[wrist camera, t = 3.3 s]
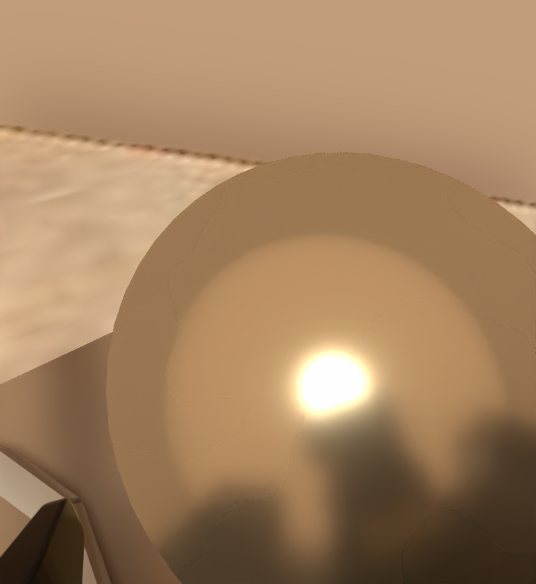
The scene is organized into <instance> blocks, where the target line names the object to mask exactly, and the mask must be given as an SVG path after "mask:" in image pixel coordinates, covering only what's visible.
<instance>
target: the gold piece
mask: <svg viewBox="0 0 536 584" xmlns="http://www.w3.org/2000/svg"><path fill="white" fill-rule="evenodd" d="M106 397H107V410H108V422H109V431H110V436H111V440H112V445H113V450H114V454H115V459H116V464H117V468H118V470H119V473H120V476H121V479H122V481H123V484H124V487H125V490H126V492H127V495H128V498H129V500H130V503H131V506H132V507H133V509H134V511H135V513H136V515H137V517H138V519H139V521H140V523H141V524H142V526H143V528H144V530H145V532H146V534H147V536H148V538H149V540H150V541H151V543H152V544H153V546H154V547H155V548H156V550H157V551H158V553H159V554H160V555H161V557H162V558H163V560H164V561H165V562H166V564H167V565H168V566H169V568H170V569H171V571H172V572H173V573H174V575H175V576H176V577H177V578H178V579H179V580H180V581H181V582H182V584H536V235H535V234H534V233H533V232H532V231H531V230H530V229H529V228H528V227H527V226H526V225H524V224H523V223H522V222H521V221H520V220H519V219H517V218H516V217H515V216H513V215H512V214H511V213H510V212H508V211H507V210H506V209H504V208H503V207H502V206H500V205H499V204H498V203H496V202H494V201H493V200H491V199H490V198H488V197H487V196H485V195H483V194H482V193H480V192H479V191H477V190H475V189H474V188H472V187H470V186H468V185H466V184H464V183H462V182H460V181H458V180H456V179H454V178H452V177H450V176H448V175H445V174H442V173H440V172H437V171H435V170H432V169H429V168H427V167H424V166H421V165H418V164H414V163H410V162H406V161H403V160H400V159H395V158H389V157H384V156H378V155H372V154H360V153H347V152H343V153H342V152H340V153H316V154H309V155H301V156H295V157H289V158H286V159H281V160H277V161H273V162H270V163H266V164H263V165H260V166H258V167H255V168H253V169H250V170H247V171H245V172H242V173H240V174H238V175H236V176H234V177H232V178H230V179H228V180H227V181H225V182H223V183H221V184H219V185H217V186H216V187H214V188H213V189H211V190H210V191H208V192H207V193H205V194H204V195H202V196H201V197H200V198H198V199H197V200H195V201H194V202H193V203H192V204H191V205H189V206H188V207H187V208H186V209H185V210H184V211H183V212H182V213H180V214H179V215H178V216H177V217H176V218H175V219H174V220H173V221H172V222H171V223H170V224H169V225H168V227H167V228H166V229H165V230H164V231H163V232H162V233H161V235H160V236H159V237H158V238H157V239H156V240H155V242H154V243H153V245H152V246H151V248H150V249H149V251H148V252H147V254H146V255H145V257H144V258H143V260H142V261H141V263H140V264H139V266H138V268H137V270H136V272H135V274H134V276H133V278H132V280H131V282H130V284H129V286H128V288H127V290H126V292H125V294H124V297H123V300H122V303H121V306H120V309H119V312H118V315H117V318H116V321H115V324H114V329H113V334H112V339H111V345H110V350H109V355H108V368H107V385H106Z"/></svg>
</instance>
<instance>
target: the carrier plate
mask: <svg viewBox="0 0 536 584" xmlns="http://www.w3.org/2000/svg"><path fill="white" fill-rule="evenodd" d="M112 334H113V332H112V333H110V334H108V335H105V336H103V337H101V338H99V339H97V340H95V341H93V342H90V343H88V344H86V345H84V346H82V347H80V348H78V349H75V350H73V351H71V352H69V353H67V354H65V355H63V356H61V357H58V358H56V359H54V360H52V361H50V362H48V363H46V364H43V365H41V366H39V367H37V368H35V369H33V370H31V371H28V372H26V373H24V374H22V375H20V376H18V377H16V378H14V379H11V380H9V381H7V382H5V383H3V384H1V385H0V556H1V555H2V554H3V553H4V551H5V550H6V549H7V548H8V547H9V545H10V544H11V543H12V542H13V541H14V539H15V538H16V537H17V536H18V534H19V533H20V532H21V531H22V530H23V528H24V527H25V526H26V525H27V523H28V522H29V521H30V520H31V519H32V517H33V516H34V515H35V514H36V512H37V511H38V510H39V509H40V508H41V507H42V506H43V505H44V504H46V503H48V502H52V501H55V500H59V499H62V498H67V499H69V500H70V501H71V503H72V505H73V507H74V509H75V511H76V514H77V516H78V518H79V520H80V522H81V524H82V527H83V530H84V538H85V541H84V561H83V581H82V584H182V582H181V581H180V580H179V579H178V578H177V577H176V576H175V575H174V573H173V572H172V571H171V569H170V568H169V566H168V565H167V564H166V562H165V561H164V560H163V558H162V557H161V555H160V554H159V553H158V551H157V550H156V548H155V547H154V546H153V544H152V543H151V541H150V540H149V538H148V536H147V534H146V532H145V530H144V528H143V526H142V524H141V523H140V521H139V519H138V517H137V515H136V513H135V511H134V509H133V507H132V506H131V503H130V500H129V498H128V495H127V492H126V490H125V487H124V484H123V481H122V479H121V476H120V473H119V470H118V468H117V464H116V459H115V454H114V450H113V445H112V440H111V436H110V431H109V422H108V410H107V397H106V385H107V368H108V355H109V350H110V345H111V339H112Z"/></svg>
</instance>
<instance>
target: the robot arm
mask: <svg viewBox="0 0 536 584" xmlns="http://www.w3.org/2000/svg"><path fill="white" fill-rule="evenodd" d="M84 541H85V538H84V530H83V527H82V524H81V522H80V520H79V518H78V516H77V514H76V511H75V509H74V507H73V505H72V503H71V501H70V500H69V499H67V498H62V499H59V500H55V501H52V502H48V503H46V504H44V505H43V506H42V507H41V508H40V509H39V510H38V511H37V512H36V514H35V515H34V516H33V517H32V519H31V520H30V521H29V522H28V523H27V525H26V526H25V527H24V528H23V530H22V531H21V532H20V533H19V534H18V536H17V537H16V538H15V539H14V541H13V542H12V543H11V544H10V545H9V547H8V548H7V549H6V550H5V551H4V553H3V554H2V555H1V556H0V584H82V581H83V561H84Z"/></svg>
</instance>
